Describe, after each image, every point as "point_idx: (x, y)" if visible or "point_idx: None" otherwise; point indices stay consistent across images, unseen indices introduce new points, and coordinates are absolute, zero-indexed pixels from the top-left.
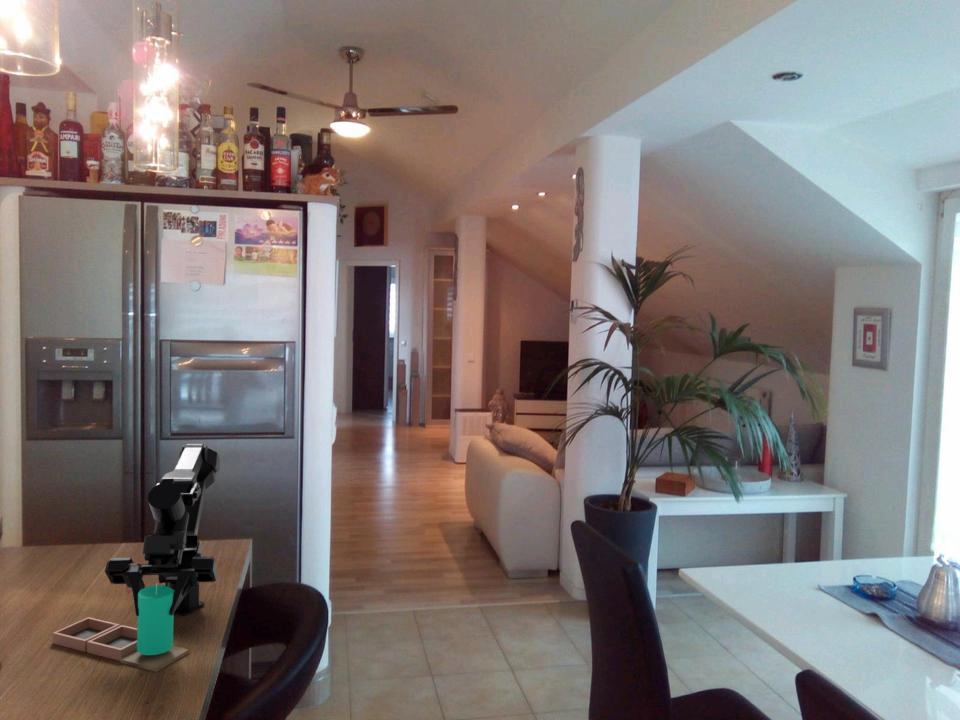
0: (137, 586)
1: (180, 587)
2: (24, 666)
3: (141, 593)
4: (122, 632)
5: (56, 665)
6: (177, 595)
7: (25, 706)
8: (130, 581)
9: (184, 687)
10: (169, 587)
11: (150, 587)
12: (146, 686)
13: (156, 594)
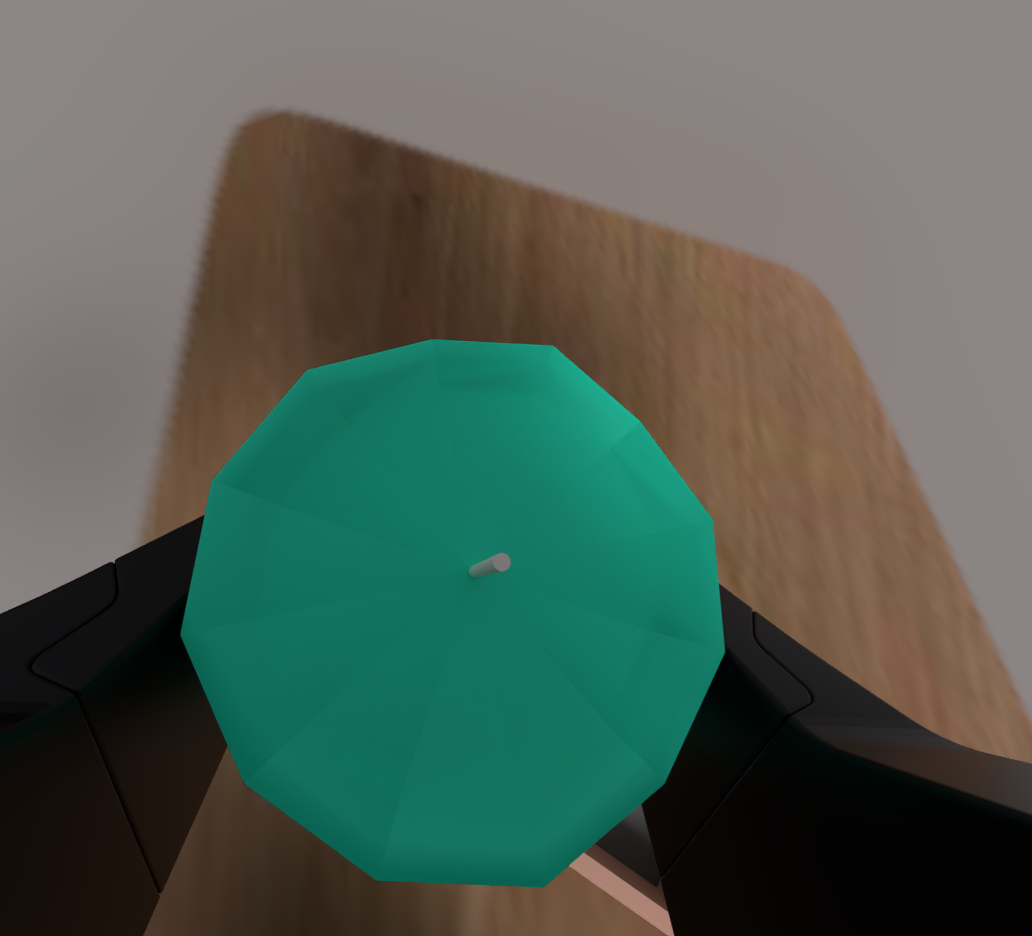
0: (804, 698)
1: (16, 630)
2: (922, 585)
3: (674, 571)
4: (661, 895)
5: (820, 573)
6: (157, 555)
7: (789, 291)
8: (1000, 758)
9: (280, 265)
10: (276, 802)
11: (603, 784)
12: (438, 314)
13: (469, 549)
